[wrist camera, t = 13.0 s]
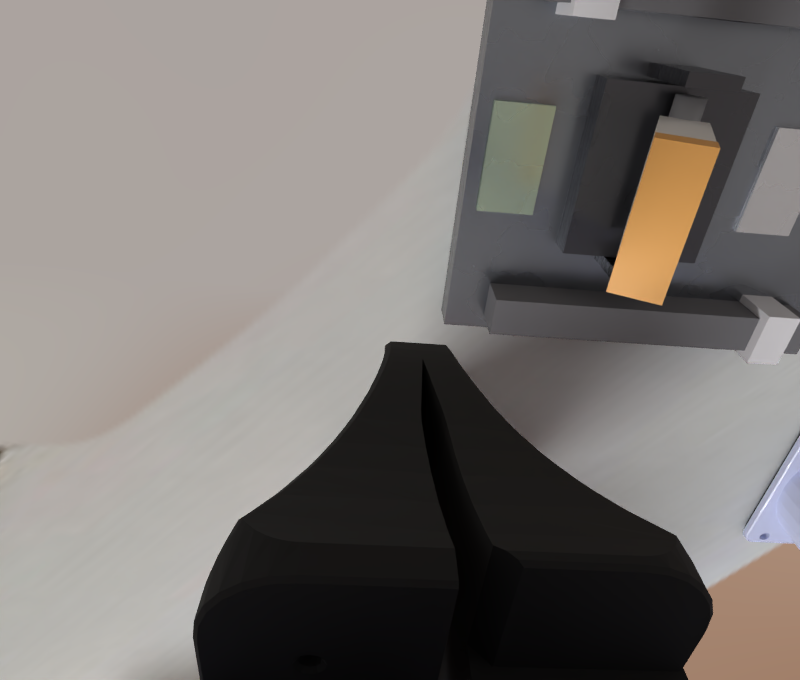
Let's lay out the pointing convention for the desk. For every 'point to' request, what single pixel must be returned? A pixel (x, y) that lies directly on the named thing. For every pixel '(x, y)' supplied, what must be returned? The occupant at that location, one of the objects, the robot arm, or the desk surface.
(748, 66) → the breaker panel
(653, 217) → the lever
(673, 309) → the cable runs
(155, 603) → the desk surface
